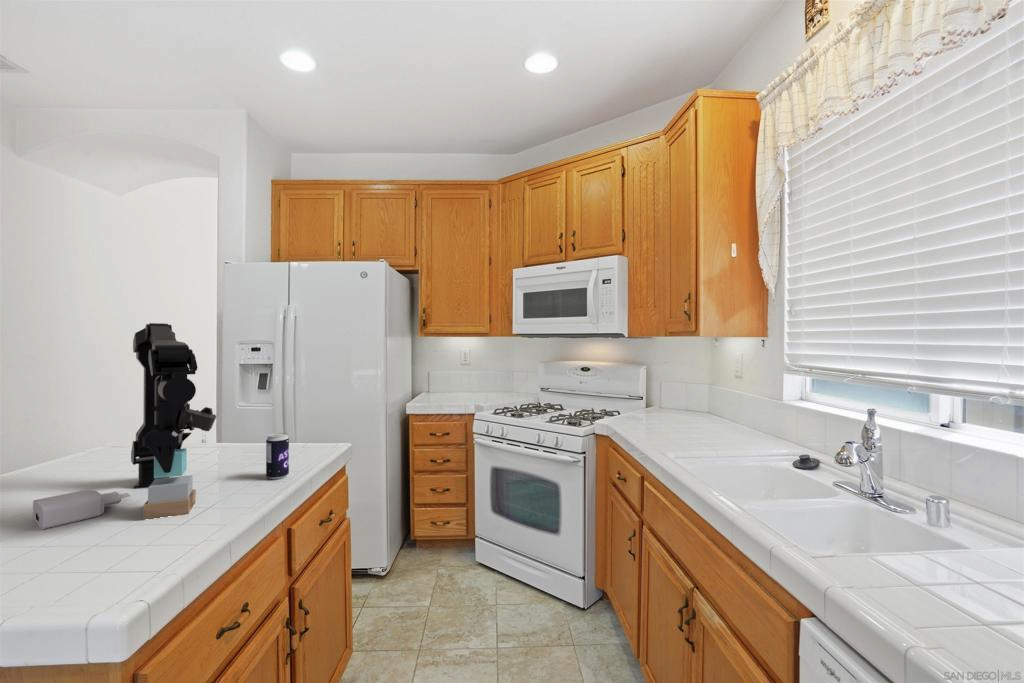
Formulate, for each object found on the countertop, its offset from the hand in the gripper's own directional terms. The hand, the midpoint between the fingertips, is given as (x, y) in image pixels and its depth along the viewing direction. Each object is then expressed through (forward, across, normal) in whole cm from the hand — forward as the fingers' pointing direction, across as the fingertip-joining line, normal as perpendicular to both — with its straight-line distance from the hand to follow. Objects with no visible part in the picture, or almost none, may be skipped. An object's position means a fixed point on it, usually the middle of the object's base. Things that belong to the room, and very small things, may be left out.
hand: (170, 469), depth 102 cm
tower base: (+10, 0, 0) cm, 10 cm away
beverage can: (+10, +18, -21) cm, 29 cm away
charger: (+10, +6, +16) cm, 20 cm away
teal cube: (+1, 0, 0) cm, 1 cm away
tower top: (+6, 0, 0) cm, 6 cm away
